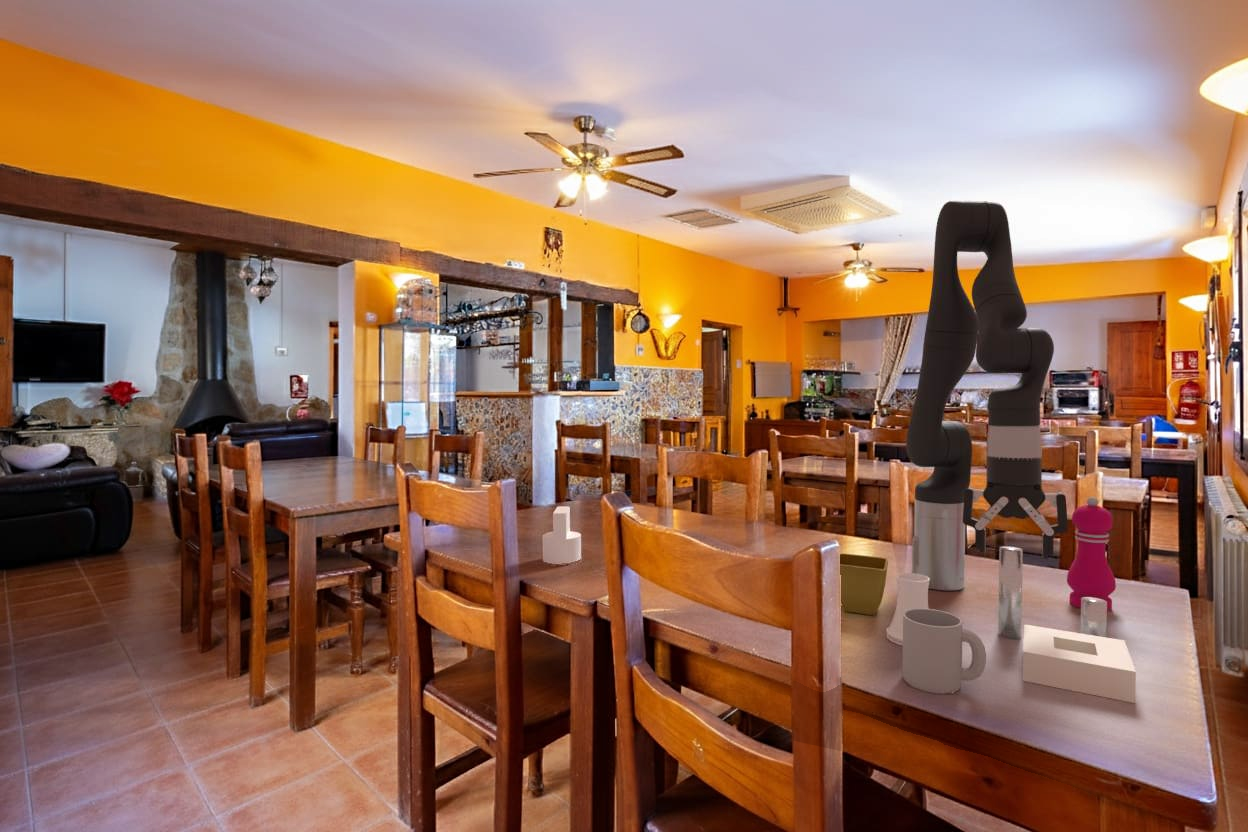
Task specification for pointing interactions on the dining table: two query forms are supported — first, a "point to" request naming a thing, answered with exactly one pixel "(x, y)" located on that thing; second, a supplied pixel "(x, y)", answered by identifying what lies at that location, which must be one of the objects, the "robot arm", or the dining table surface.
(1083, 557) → the pepper mill
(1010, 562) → the tall pin
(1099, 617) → the short pin
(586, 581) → the dining table surface
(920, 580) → the vase
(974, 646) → the cup
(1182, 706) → the dining table surface
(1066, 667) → the socket block
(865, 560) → the flower pot
